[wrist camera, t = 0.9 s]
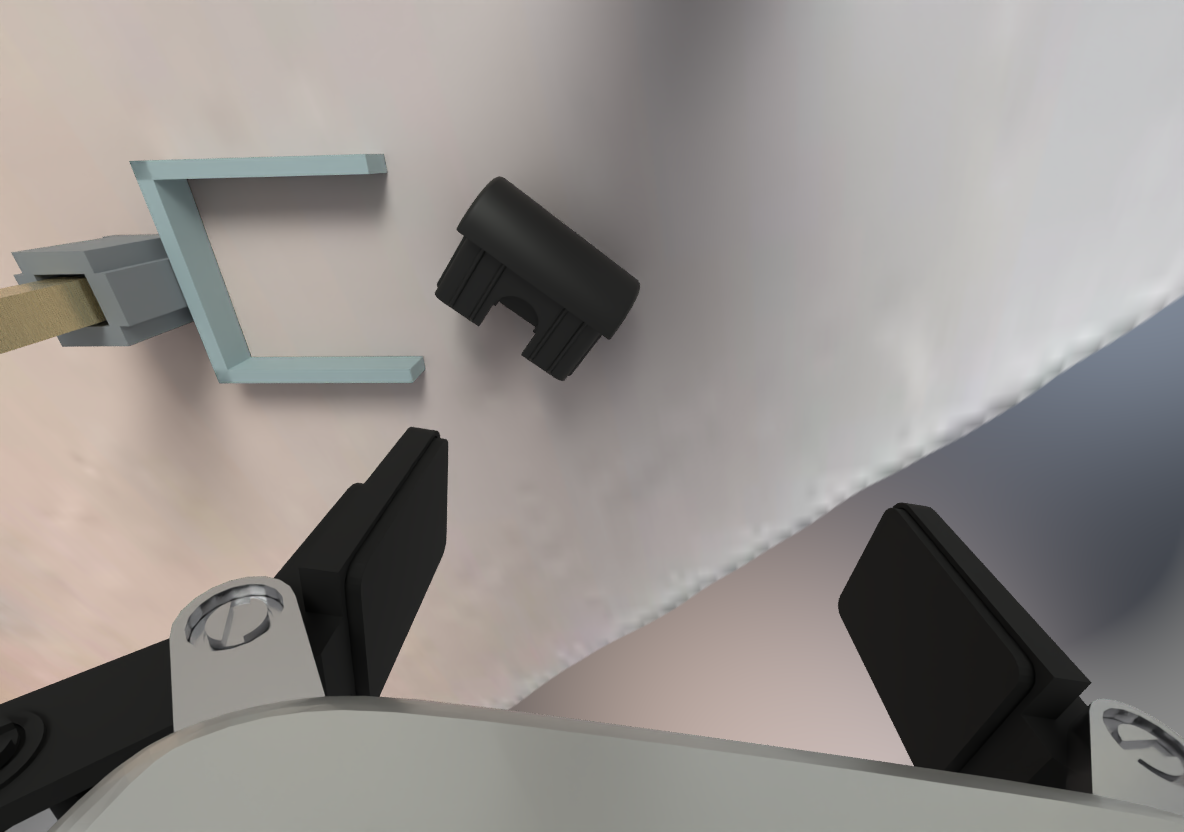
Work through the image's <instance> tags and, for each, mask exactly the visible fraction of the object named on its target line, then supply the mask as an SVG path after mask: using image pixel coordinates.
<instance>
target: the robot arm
mask: <svg viewBox="0 0 1184 832" xmlns="http://www.w3.org/2000/svg"><path fill="white" fill-rule="evenodd" d="M447 483H448V441H447V439H441V438H440V434H439V432H438V431H435V430H428V429H422V428H415V427H410V428H408V429H407V431H406V432H405V433H404V434H403V436H402V437H401V438H400V439H399V441H398V442H397V443H396V444H395V446H394V447H393V448H392V449H391V451H390V452H389V453H388V454H387V456H386V457H385V458H384V459H383V461H382V462H381V463H380V464H379V466H378V467H377V468H376V469H375V471H374V472H373V473H372V474H371V476H370V477H369V478H368V480H367V481H366V482H365V483H364V484H362V483H355V484H353V485H352V486H351V487H349V488H348V489H347V491H346V492H345V493H344V494H343V495H342V497H341V498H340V499H339V500H338V501H337V503H336V504H335V505H334V506H333V507H332V509H331V510H330V511H329V512H328V513H327V515H326V516H325V517H324V518H323V519H322V521H321V522H320V523H319V524H318V525H317V527H316V528H315V529H314V530H313V531H312V533H311V534H310V535H309V536H308V537H307V539H306V540H305V541H304V542H303V543H302V545H301V546H300V547H299V548H298V549H297V551H296V552H295V553H294V554H293V555H292V557H291V558H290V559H289V560H288V561H287V563H286V564H285V565H284V566H283V567H282V569H281V570H280V571H279V572H278V573H277V575H276V576H275V577H274V578H270V577H266V576H261V577H245V578H240V579H236V580H231V581H228V582H226V583H223V584H221V585H218V586H216V587H213V588H211V589H209V590H208V591H206V592H204V593H203V594H201V595H200V596H198V597H196V598H195V599H194V600H193V601H191V602H190V603H189V604H188V605H187V606H186V607H185V608H184V609H183V610H181V612H180V613H179V615H178V616H177V618H176V620H175V621H174V623H173V624H172V628H171V633H170V638H169V639H166V640H164V641H161V642H159V643H156V644H154V645H151V646H148V647H146V648H143V649H141V650H138V651H136V652H133V653H131V654H128V655H125V656H123V657H120V658H118V659H115V660H113V661H110V662H107V663H105V664H102V665H100V666H97V667H95V668H92V669H90V670H87V671H84V672H82V673H79V674H77V675H74V676H72V677H69V678H66V679H64V680H61V681H59V682H56V683H54V684H51V685H49V686H46V687H43V688H41V689H38V690H36V691H33V692H31V693H28V694H25V695H23V696H20V697H18V698H15V699H13V700H10V701H8V702H5V703H2V704H0V832H1184V739H1183V738H1182V737H1181V736H1180V735H1178V734H1177V733H1176V732H1174V731H1173V730H1172V729H1170V728H1169V727H1168V726H1166V725H1165V724H1163V723H1162V722H1160V721H1158V720H1157V719H1155V718H1154V717H1152V716H1150V715H1149V714H1147V713H1145V712H1143V711H1141V710H1139V709H1137V708H1134V707H1132V706H1130V705H1128V704H1125V703H1122V702H1118V701H1115V700H1111V699H1098V700H1096V701H1094V702H1092V703H1091V704H1090V705H1089V706H1087V705H1086V704H1085V703H1084V702H1083V701H1082V700H1081V698H1080V697H1079V695H1080V694H1081V693H1082V692H1083V691H1084V690H1085V689H1086V688H1087V687H1088V686H1089V685H1090V684H1091V682H1090V681H1089V679H1088V678H1087V677H1085V675H1084V674H1083V673H1082V672H1081V671H1080V670H1079V669H1078V667H1077V666H1076V665H1075V664H1074V663H1073V662H1072V661H1071V660H1070V659H1069V658H1068V657H1067V655H1066V654H1065V653H1064V652H1063V651H1062V650H1061V649H1060V648H1059V647H1058V646H1057V645H1056V643H1055V642H1054V641H1053V640H1052V639H1051V638H1050V637H1049V636H1048V635H1047V634H1046V632H1045V631H1044V630H1043V629H1042V628H1041V627H1040V626H1039V625H1038V624H1037V623H1036V621H1035V620H1034V619H1033V618H1032V617H1031V616H1030V615H1029V614H1028V613H1027V611H1026V610H1025V609H1024V608H1023V607H1022V606H1021V605H1020V604H1019V603H1018V602H1017V601H1016V599H1015V598H1014V597H1013V596H1012V595H1011V594H1010V593H1009V592H1008V591H1007V590H1006V588H1005V587H1004V586H1003V585H1002V584H1001V583H1000V582H999V581H998V580H997V579H996V578H995V576H994V575H993V574H992V573H991V572H990V571H989V570H988V569H987V568H986V567H985V565H983V563H982V562H981V561H980V560H979V559H978V558H977V557H976V556H975V554H973V552H972V551H971V550H970V549H969V548H968V547H967V546H966V545H965V544H964V542H963V541H962V540H961V539H960V538H959V537H958V536H957V535H956V534H955V533H954V531H953V530H952V529H951V528H950V527H949V526H948V525H947V524H946V523H945V522H944V521H943V519H942V518H941V517H940V516H939V515H938V514H937V513H936V512H935V511H934V510H933V509H932V508H931V507H927V506H921V505H915V504H908V503H897V504H896V505H895V506H893V508H889V509H888V510H886V511H885V513H884V514H883V516H882V518H881V520H880V522H879V523H878V525H877V527H876V529H875V531H874V533H873V535H872V537H871V539H870V541H869V542H868V544H867V546H866V548H865V550H864V552H863V554H862V556H861V558H860V559H859V561H858V563H857V565H856V567H855V569H854V571H853V573H852V575H851V576H850V578H849V580H848V582H847V584H846V586H845V588H844V590H843V592H842V594H841V595H840V598H839V602H838V609H839V614H840V616H841V618H842V620H843V622H844V624H845V626H846V628H847V630H848V633H849V635H850V637H851V639H852V641H853V643H854V645H855V647H856V649H857V651H858V653H859V655H860V657H861V659H862V661H863V663H864V665H865V667H866V669H867V671H868V673H869V675H870V677H871V679H872V681H873V683H874V685H875V688H876V689H877V692H878V694H879V696H880V698H881V700H882V702H883V704H884V706H885V708H886V710H887V712H888V714H889V716H890V718H891V720H892V722H893V724H894V726H895V728H896V730H897V732H898V734H899V736H900V738H901V740H902V743H903V744H904V746H905V748H906V751H907V753H908V755H909V757H910V759H911V761H912V763H913V765H914V766H908V765H901V764H894V763H888V762H881V761H874V760H867V759H860V758H853V757H846V756H839V755H832V754H825V753H818V752H811V751H804V750H797V749H790V748H783V747H775V746H769V745H761V744H754V743H747V742H740V741H733V740H726V739H719V738H711V737H704V736H697V735H690V734H683V733H676V732H668V731H661V730H653V729H645V728H638V727H631V726H624V725H616V724H609V723H601V722H594V721H586V720H579V719H572V718H564V717H557V716H549V715H542V714H535V713H527V712H520V711H512V710H503V709H494V708H486V707H477V706H469V705H460V704H451V703H443V702H434V701H426V700H417V699H403V698H388V697H379V696H380V694H381V692H382V690H383V687H384V685H385V683H386V681H387V678H388V676H389V674H390V672H391V670H392V667H393V665H394V663H395V661H396V658H397V656H398V654H399V652H400V649H401V647H402V645H403V643H404V641H405V638H406V636H407V634H408V632H409V629H410V627H411V625H412V623H413V621H414V618H415V616H416V614H417V612H418V609H419V607H420V605H421V603H422V601H423V598H424V596H425V594H426V592H427V589H428V587H429V585H430V583H431V580H432V578H433V576H434V574H435V572H436V569H437V567H438V565H439V563H440V560H441V558H442V556H443V553H444V550H445V545H446V532H447Z"/></svg>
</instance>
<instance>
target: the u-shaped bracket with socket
mask: <svg viewBox="0 0 1184 832" xmlns="http://www.w3.org/2000/svg"><path fill="white" fill-rule="evenodd" d="M129 162H130V164H131V167H132V169H133V172H134V174H135V177H136V179H137V181H138V184H139V186H140V189H141V191H142V194H143V196H144V199H145V201H146V204H147V206H148V209H149V211H150V214H151V216H152V218H153V221H154V223H155V226H156V228H157V231H158V233H159V234H155V235H112V236H106V237H103V238H101V239H94V240H88V241H82V242H75V243H69V244H63V245H56V246H50V247H43V248H37V249H31V250H24V251H18V252H12V255H13V257H14V258H15V260H16V262H17V264H18V266H19V268H20V269H21V271H22V273H21V274H16V275H14V277H15V279H16V281H17V282H18V284H19V285H21V284H26V283H30V282H35V281H40V280H44V279H49V278H54V277H86V279H87V281H88V283H89V285H90V287H91V289H92V291H93V293H94V295H95V297H96V299H97V301H98V303H99V305H100V307H101V309H102V311H103V313H104V315H105V317H106V321H103V322H99V323H96V324H93V325H90V326H87V327H84V328H81V329H77V330H74V331H71V332H68V333H65V334H62V335H59V336H57V337H58V339H59V341H60V343H61V345H62V347H68V346H131V345H133V344H136V343H138V342H141V341H144V340H146V339H149V338H151V337H154V336H156V335H159V334H162V333H164V332H167V331H169V330H172V329H175V328H177V327H180V326H182V325H185V324H188V323H190V322H193V321H194V322H195V325H196V327H197V329H198V332H199V334H200V337H201V339H202V342H203V344H204V347H205V349H206V352H207V354H208V357H209V359H210V362H211V364H212V366H213V369H214V371H215V374H216V376H217V379H218V381H219V383H413V382H414V381H415V380H416V379H417V378H418V376H419V375H420V374H421V373H422V372H423V371H424V370H425V365H424V360H423V356H386V357H251V355H250V352H249V350H248V347H247V344H246V341H245V339H244V336H243V333H242V330H241V328H240V325H239V322H238V319H237V317H236V314H235V311H234V308H233V306H232V303H231V300H230V297H229V295H228V292H227V289H226V286H225V284H224V281H223V278H222V275H221V273H220V270H219V267H218V264H217V262H216V259H215V256H214V253H213V251H212V248H211V245H210V242H209V240H208V237H207V234H206V231H205V229H204V226H203V223H202V220H201V218H200V215H199V212H198V209H197V207H196V204H195V201H194V198H193V196H192V193H191V190H190V187H189V185H188V182H187V179H200V178H238V177H275V176H312V175H349V174H376V173H387V169H386V163H385V158H384V154H354V155H320V156H285V157H251V158H217V159H183V160H148V161H129Z"/></svg>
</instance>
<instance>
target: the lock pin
mask: <svg viewBox="0 0 1184 832" xmlns="http://www.w3.org/2000/svg"><path fill="white" fill-rule="evenodd" d="M103 321H106V317H105V315H104V313H103V311H102V309H101V307H100V305H99V303H98V301H97V299H96V297H95V295H94V293H93V291H92V289H91V287H90V285H89V283H88V281H87V279H86V277H54V278H49V279H44V280H40V281H35V282H30V283H26V284H21V285H16V286H11V287H7V288H2V289H0V354H2V353H5V352H8V351H11V350H15V349H18V348H21V347H24V346H27V345H30V344H33V343H37V342H40V341H43V340H46V339H49V338H52V337H55V336H59V335H62V334H65V333H68V332H71V331H74V330H77V329H81V328H84V327H87V326H90V325H93V324H96V323H99V322H103Z"/></svg>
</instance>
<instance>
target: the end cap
mask: <svg viewBox="0 0 1184 832" xmlns="http://www.w3.org/2000/svg"><path fill="white" fill-rule="evenodd" d="M457 231H458V232H459V233H461V234H462V235H464V237H463V239H462V241H461V242H460V244H459V246H458V248H457V249H456V251H455V253H454V255H453V256H452V258H451V260H450V262H449V264H448V265H447V267H446V269H445V271H444V272H443V274H442V276H441V278H440V279H439V281H438V283H437V287H438V288H437V290H436V292H435V295H436V297H437V298H438V299H439V300H441V301H442V302H443V303H445V304H446V305H448V306H449V307H451V308H452V309H454V310H455V311H457V312H458V313H460V314H461V315H463V316H464V317H466V318H467V319H469V320H470V321H472V322H473V323H475V324H476V325H477V326H479V325H480V324H481V323H482V321H483V320H484V318H485V316H486V315H487V313H488V312H489V310H490V309H491V307H492V305H495V306H496V305H497V304H498V302H500V303H502V304H503V305H505V306H506V307H508V308H509V309H510V310H512V311H513V312H515V313H516V314H518V315H519V316H520V317H522V318H523V319H525V320H526V321H528V322H529V323H531V324H532V325H533V326H535V329H534V330H533V332H534V333H535V335H534V337H533V338H532V339H531V341H530V342H529V344H528V345H527V347H526V348H525V349H524V351H523V352H522V354H521V355H522V356H523V357H525V358H526V359H528V360H529V361H531V362H532V363H534V364H535V365H537V366H538V367H540V368H541V369H543V370H544V371H546V372H547V373H549V374H550V375H552V376H553V377H555V378H556V379H558V380H561V381H564V380H565V379H566V377H567V376H570V375H571V374H572V373H573V372H574V371H575V369H576V368H577V367H578V365H579V364H580V363H581V362H582V360H583V359H584V358H585V356H586V355H587V354H588V352H589V351H590V350H591V349H592V347H593V346H594V345H595V343H596V342H597V341H598V339H599V338H600V337H601V336H602V335H603V336H604V337H606V338H607V339H611V337H612V336H613V335H614V333H615V332H616V331H617V329H618V328H619V326H620V325H621V324H622V322H623V321H624V319H625V317H626V316H627V314H628V313H629V311H630V309H631V308H632V306H633V304H634V302H635V300H636V298H637V295H638V293H639V289H640V283H639V281H638V280H637V279H635V278H634V277H633V276H632V275H630V274H629V273H628V272H626V271H625V270H624V269H622V268H621V267H620V266H619V265H617V264H616V263H615V262H613V261H612V260H611V259H609V258H608V257H607V256H605V255H604V254H603V253H602V252H600V251H599V250H598V249H596V248H595V247H594V246H592V245H591V244H590V243H589V242H587V241H586V240H585V239H583V238H582V237H581V236H579V235H578V234H577V233H576V232H574V231H573V230H572V229H570V228H569V227H568V226H566V225H565V224H564V223H562V222H561V221H560V220H559V219H557V218H556V217H555V216H553V215H552V214H551V213H549V212H548V211H547V210H546V209H544V208H543V207H542V206H540V205H539V204H538V203H536V202H535V201H534V200H532V199H531V198H530V197H529V196H527V195H526V194H525V193H523V192H522V191H521V190H519V189H518V188H517V187H516V186H514V185H513V184H512V183H510V182H509V181H508V180H506V179H505V178H503V177H500V176H499V177H496V178H494V179H493V180H492V181H491V182H489V183H488V184H487V186H486V187H485V188H484V189H483V190H482V191H481V192H480V194H479V195H478V196H477V198H476V199H475V200H474V202H473V203H472V205H471V206H470V208H469V209H468V211H467V212H466V214H465V215H464V217H463V218H462V220H461V222H460V224H459V225H458V227H457Z"/></svg>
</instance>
